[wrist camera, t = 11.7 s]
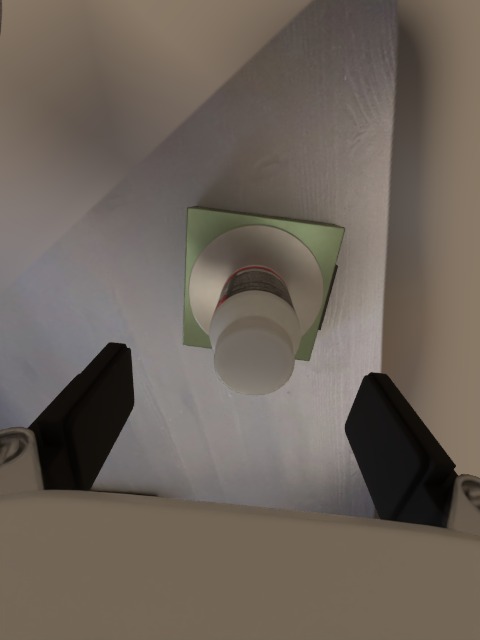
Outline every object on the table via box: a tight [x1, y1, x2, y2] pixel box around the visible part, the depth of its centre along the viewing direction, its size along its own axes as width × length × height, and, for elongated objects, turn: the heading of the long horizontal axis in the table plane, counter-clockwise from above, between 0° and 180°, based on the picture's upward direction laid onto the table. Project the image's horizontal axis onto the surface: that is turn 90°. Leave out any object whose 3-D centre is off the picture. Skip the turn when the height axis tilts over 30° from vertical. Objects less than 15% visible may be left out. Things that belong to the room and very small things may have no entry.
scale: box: [183, 206, 345, 361], centre depth 24 cm, size 12×12×3 cm
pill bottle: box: [209, 265, 301, 395], centre depth 17 cm, size 5×5×10 cm
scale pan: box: [188, 224, 324, 337], centre depth 22 cm, size 11×11×1 cm
